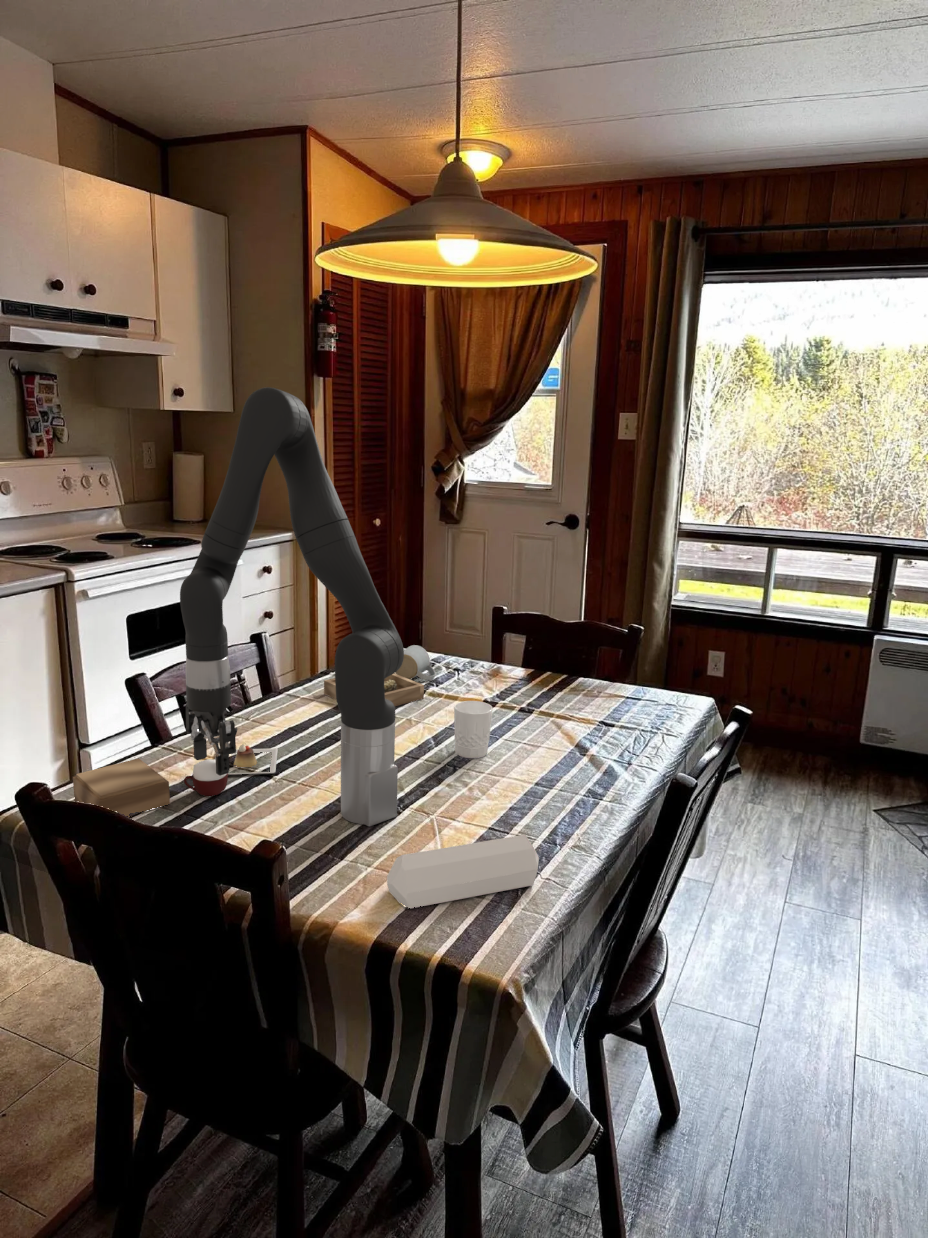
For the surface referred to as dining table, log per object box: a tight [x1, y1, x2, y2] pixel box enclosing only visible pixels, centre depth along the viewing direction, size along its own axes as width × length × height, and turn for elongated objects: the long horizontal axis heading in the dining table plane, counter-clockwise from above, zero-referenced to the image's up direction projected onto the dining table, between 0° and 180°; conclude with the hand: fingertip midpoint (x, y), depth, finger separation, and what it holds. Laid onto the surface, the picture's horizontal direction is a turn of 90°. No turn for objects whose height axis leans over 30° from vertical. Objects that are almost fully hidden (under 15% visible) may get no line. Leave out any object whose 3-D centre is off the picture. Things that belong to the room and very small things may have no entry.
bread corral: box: [323, 672, 425, 707], centre depth 206 cm, size 17×17×4 cm
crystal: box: [386, 834, 540, 909], centre depth 125 cm, size 7×7×24 cm
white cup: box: [453, 700, 493, 759], centre depth 174 cm, size 8×8×10 cm
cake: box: [384, 680, 397, 693], centre depth 208 cm, size 10×10×5 cm
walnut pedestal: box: [72, 758, 171, 818], centre depth 147 cm, size 12×12×5 cm
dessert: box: [214, 742, 279, 776], centre depth 165 cm, size 12×12×5 cm
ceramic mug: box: [395, 644, 437, 682], centre depth 222 cm, size 11×8×8 cm
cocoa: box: [183, 726, 238, 797], centre depth 151 cm, size 10×6×12 cm, turn 80°
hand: (211, 766), depth 152 cm, fingers open, 8 cm apart
